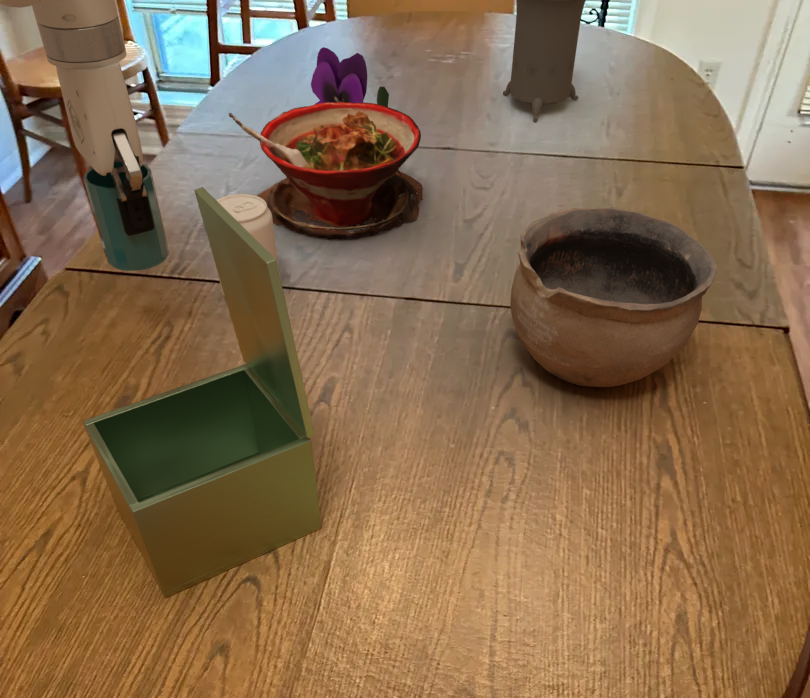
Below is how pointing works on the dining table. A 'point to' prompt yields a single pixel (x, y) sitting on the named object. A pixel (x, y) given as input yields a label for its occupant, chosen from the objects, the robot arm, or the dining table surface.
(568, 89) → the grey footed vase
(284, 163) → the stew
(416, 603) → the dining table surface
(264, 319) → the bin lid
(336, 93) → the flower
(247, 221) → the beverage can
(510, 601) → the dining table surface
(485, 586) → the dining table surface
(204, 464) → the bin
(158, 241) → the cup
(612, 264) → the ceramic bowl
